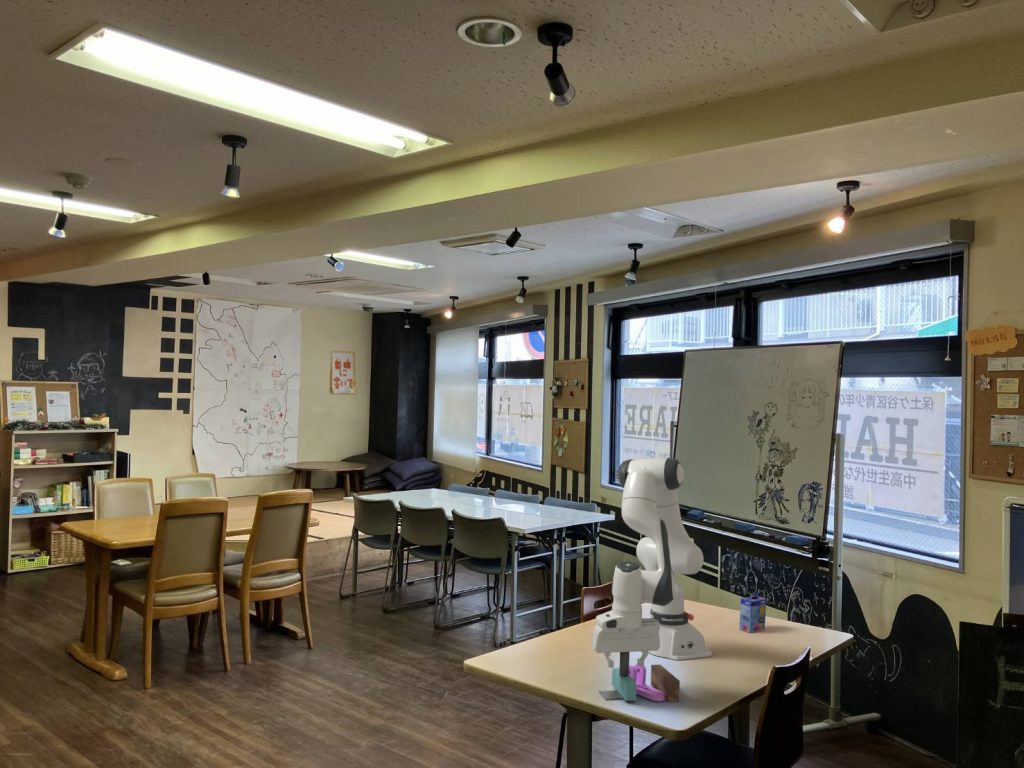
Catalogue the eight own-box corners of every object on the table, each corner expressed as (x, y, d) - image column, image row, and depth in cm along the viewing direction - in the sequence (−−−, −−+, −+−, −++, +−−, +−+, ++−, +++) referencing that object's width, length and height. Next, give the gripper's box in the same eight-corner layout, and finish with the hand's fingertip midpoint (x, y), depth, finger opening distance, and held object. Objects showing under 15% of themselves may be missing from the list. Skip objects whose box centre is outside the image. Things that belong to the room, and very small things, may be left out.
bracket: (623, 688, 224) (624, 664, 224) (635, 685, 227) (637, 662, 228) (656, 702, 214) (658, 677, 214) (669, 699, 217) (670, 674, 218)
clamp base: (659, 684, 229) (660, 664, 229) (679, 702, 215) (679, 681, 215) (594, 687, 225) (595, 667, 225) (610, 705, 211) (610, 684, 211)
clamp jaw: (621, 684, 225) (622, 644, 226) (636, 700, 214) (637, 657, 214) (611, 685, 225) (612, 644, 225) (626, 700, 213) (627, 658, 213)
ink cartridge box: (750, 633, 285) (751, 595, 286) (738, 629, 290) (739, 592, 290) (766, 629, 291) (767, 592, 291) (754, 626, 295) (755, 589, 296)
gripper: (655, 614, 225) (654, 661, 225) (590, 616, 221) (589, 664, 220) (664, 620, 219) (662, 668, 219) (597, 622, 215) (596, 671, 214)
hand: (625, 666), depth 219 cm, fingers open, 8 cm apart
